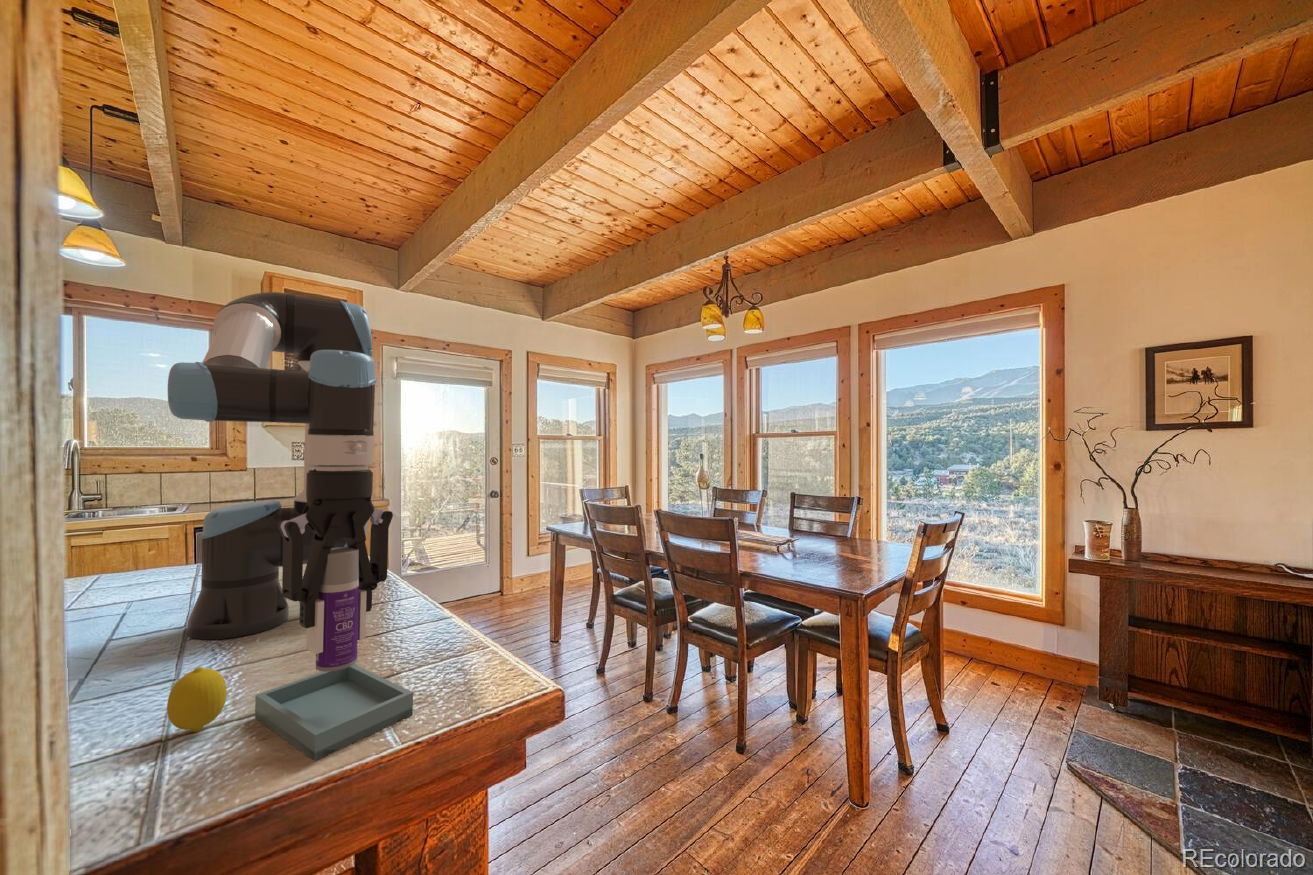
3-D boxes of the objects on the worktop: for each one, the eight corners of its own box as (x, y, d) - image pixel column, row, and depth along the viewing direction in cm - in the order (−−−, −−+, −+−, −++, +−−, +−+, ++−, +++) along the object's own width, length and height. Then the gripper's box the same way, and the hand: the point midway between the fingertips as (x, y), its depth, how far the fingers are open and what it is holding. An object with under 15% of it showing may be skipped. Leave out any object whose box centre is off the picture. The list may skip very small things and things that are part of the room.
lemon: (191, 719, 66) (193, 658, 66) (236, 718, 67) (238, 657, 67) (153, 745, 61) (154, 678, 61) (202, 744, 61) (204, 677, 61)
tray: (254, 717, 67) (255, 694, 67) (349, 681, 77) (350, 662, 77) (314, 761, 59) (315, 735, 59) (412, 714, 69) (413, 692, 69)
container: (337, 673, 65) (340, 555, 65) (306, 669, 66) (309, 553, 66) (365, 658, 70) (367, 548, 70) (335, 654, 71) (338, 546, 71)
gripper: (276, 472, 59) (271, 676, 58) (419, 467, 74) (415, 629, 73) (248, 469, 63) (243, 660, 62) (389, 464, 78) (385, 618, 77)
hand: (336, 643), depth 68 cm, fingers closed on container, 5 cm apart
